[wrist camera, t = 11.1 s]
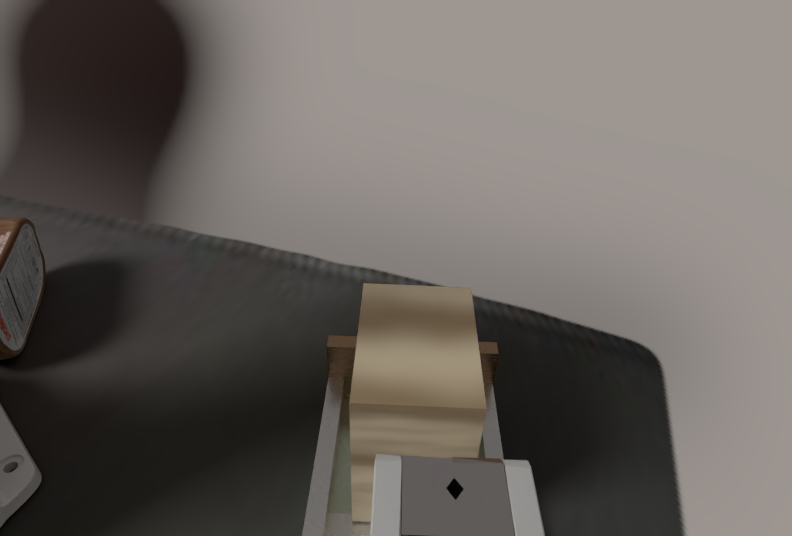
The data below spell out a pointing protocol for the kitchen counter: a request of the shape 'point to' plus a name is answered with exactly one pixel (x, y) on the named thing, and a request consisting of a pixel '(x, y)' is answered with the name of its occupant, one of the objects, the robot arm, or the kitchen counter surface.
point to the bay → (331, 480)
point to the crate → (413, 381)
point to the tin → (19, 283)
